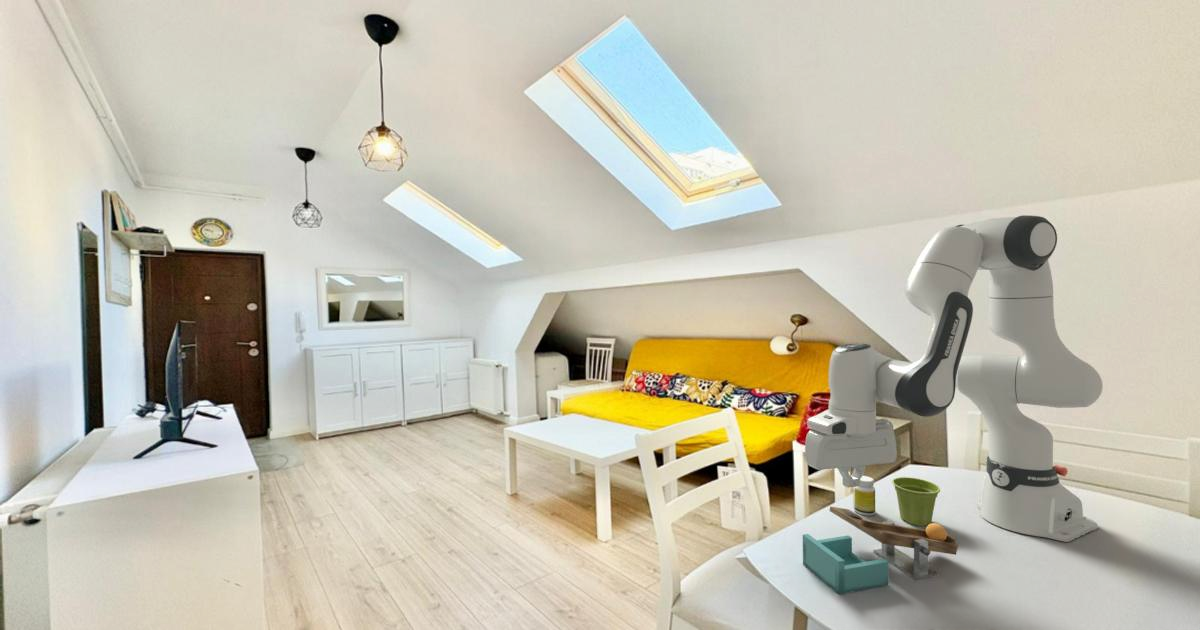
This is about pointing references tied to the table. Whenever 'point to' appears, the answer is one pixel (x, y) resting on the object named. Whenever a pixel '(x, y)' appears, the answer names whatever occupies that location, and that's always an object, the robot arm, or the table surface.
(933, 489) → the plant pot
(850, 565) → the teal tray
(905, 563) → the fulcrum
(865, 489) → the supplement bottle
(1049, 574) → the table surface
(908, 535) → the lever
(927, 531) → the ball
